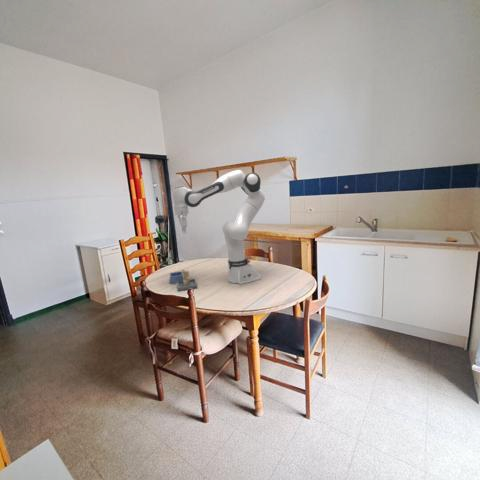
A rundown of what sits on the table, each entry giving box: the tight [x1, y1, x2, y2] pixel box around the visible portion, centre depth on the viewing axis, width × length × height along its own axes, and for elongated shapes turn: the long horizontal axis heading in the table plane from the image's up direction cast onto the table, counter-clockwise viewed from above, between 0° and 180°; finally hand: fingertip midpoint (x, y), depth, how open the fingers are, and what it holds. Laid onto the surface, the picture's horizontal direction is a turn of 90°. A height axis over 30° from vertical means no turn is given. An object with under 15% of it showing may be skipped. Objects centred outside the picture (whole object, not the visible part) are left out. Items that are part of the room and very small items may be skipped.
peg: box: [181, 268, 191, 286], centre depth 168 cm, size 4×4×10 cm
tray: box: [176, 278, 199, 292], centre depth 169 cm, size 12×12×2 cm
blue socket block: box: [169, 270, 183, 285], centre depth 181 cm, size 9×9×5 cm
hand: (184, 232), depth 175 cm, fingers open, 8 cm apart
